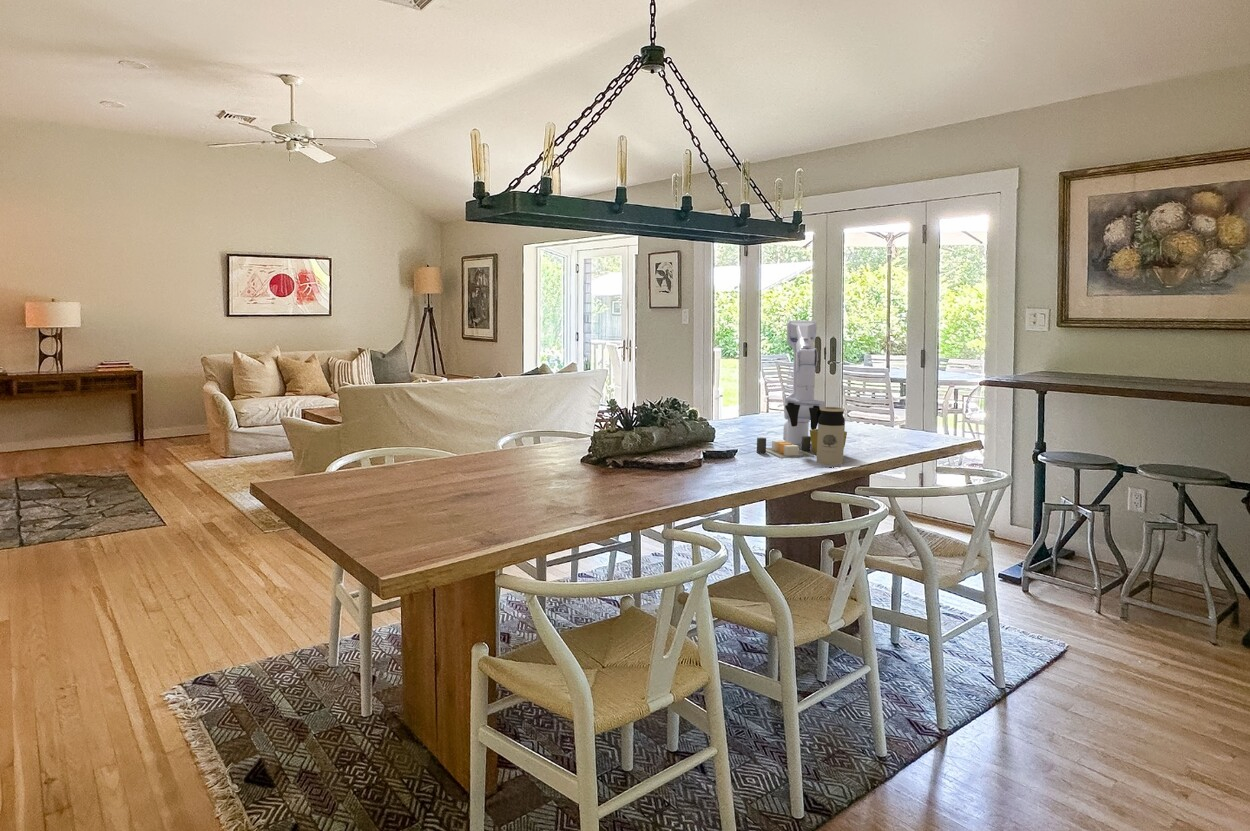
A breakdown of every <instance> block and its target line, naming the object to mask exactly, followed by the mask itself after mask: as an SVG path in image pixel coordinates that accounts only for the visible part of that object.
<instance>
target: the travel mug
mask: <svg viewBox="0 0 1250 831" xmlns="http://www.w3.org/2000/svg"><path fill="white" fill-rule="evenodd" d="M820 411H821V415H820V416H819V418H818V424H817V429H818V438H817V454H816V463H818V464H820V465H821V464H822V465H832V466H828V467H829V468H828V469H835V468H834V467H835V466H837V467H839V468H842V467H841V466H838V465H842V464H843V463H844V449H845V447H844V431H846V430H845V427H846V426H845V425H846V419H845V416H844V412H845V408H844V407H837V406H836V407H835V406H825V407H821V408H820ZM832 467H833V468H832Z"/></svg>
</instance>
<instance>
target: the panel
mask: <svg viewBox="0 0 1250 831" xmlns="http://www.w3.org/2000/svg"><path fill="white" fill-rule="evenodd" d="M766 453H767V454H769V455H771V456H774V457H775V458H779V459H793V458H798V459H799V458H814V457H815V454H811V453H810V452H805V451H802V450H801V449H799V453H798V455H793V456H786V455H784V453H779V452H778V451H775V450H772V447H766Z"/></svg>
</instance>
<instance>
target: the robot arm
mask: <svg viewBox="0 0 1250 831" xmlns="http://www.w3.org/2000/svg"><path fill="white" fill-rule="evenodd" d="M817 329H818V328H817V322H816V320H814V319H813V320H791V319H788V320H787V323H786V342H787V345H788V346H790V347H791V348H792V351H793V367H792V368H793V370H792V371H793V375H792V376H793V378H792V380H793V382H792V384H793V385H792V393H790V394H789V395H788V396H786V397H784V408H783V409H784V410H783V411H784V412H783V415H784V416H783V417H784V419H785V420H786V421H785V423H784V425H783V435H782V436H783V438H782V440H784V441H786V443H788V442H789V443H792V445H797V446H799V445H800V446H801V439H802V436H809V431H810V430H814V429H818V418H819V416H820V415H821V411H820V408H821V407H826V401H824V400H818V399H815V389H816V387H815V384H816V367H817V364H818V360H819V358H818V356H819V355H818V349H817V348H815V340H816V337H817ZM809 425H810V426H809ZM809 427H810V429H809Z"/></svg>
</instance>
